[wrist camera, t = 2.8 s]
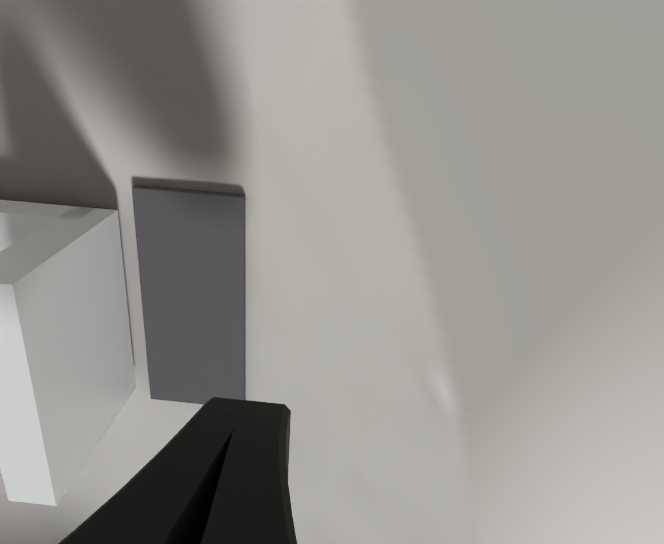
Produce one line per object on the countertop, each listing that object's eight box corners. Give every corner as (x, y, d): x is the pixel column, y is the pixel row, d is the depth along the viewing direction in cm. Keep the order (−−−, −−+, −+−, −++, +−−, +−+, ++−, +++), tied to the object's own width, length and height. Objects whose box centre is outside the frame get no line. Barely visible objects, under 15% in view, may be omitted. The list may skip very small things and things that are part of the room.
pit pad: (245, 403, 15) (243, 408, 15) (153, 393, 15) (151, 398, 15) (245, 195, 13) (243, 197, 12) (135, 185, 13) (131, 187, 13)
